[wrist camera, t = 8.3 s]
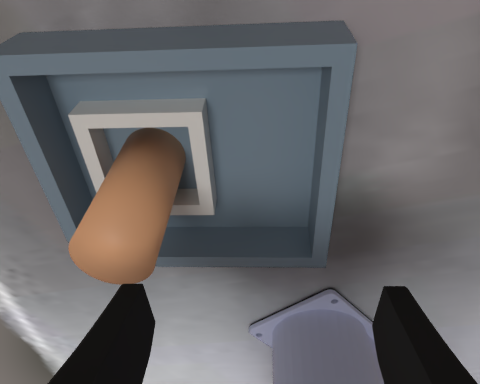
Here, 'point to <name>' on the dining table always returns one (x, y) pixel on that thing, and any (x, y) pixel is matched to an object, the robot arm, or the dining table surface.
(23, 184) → the dining table surface
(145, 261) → the peg
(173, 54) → the tray box
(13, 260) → the dining table surface
